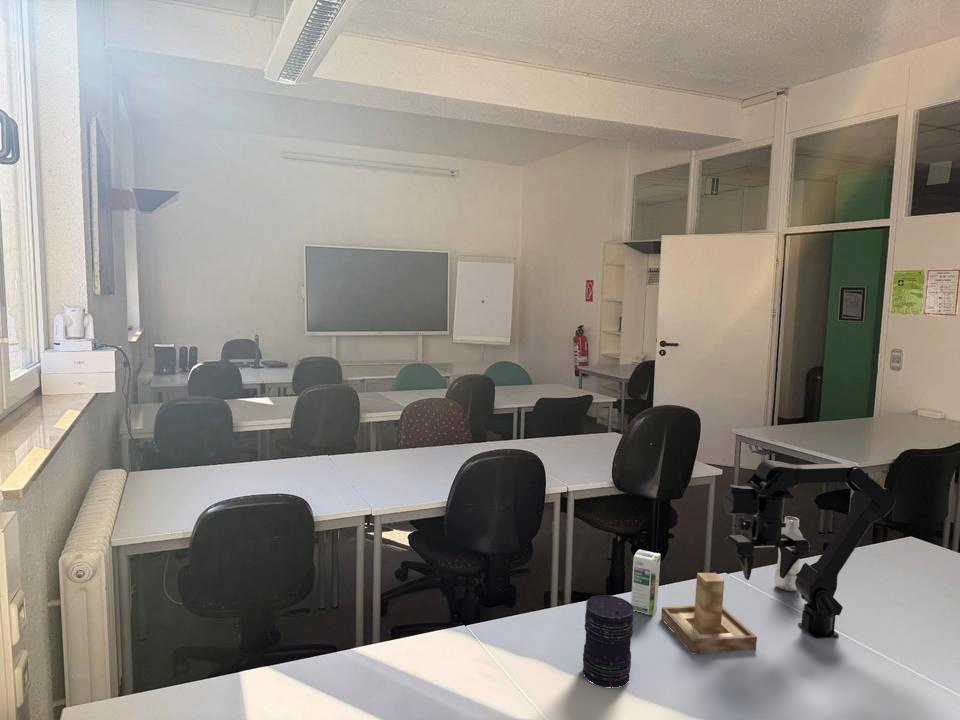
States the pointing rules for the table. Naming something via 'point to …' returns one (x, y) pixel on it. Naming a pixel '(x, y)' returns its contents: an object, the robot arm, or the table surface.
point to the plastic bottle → (790, 578)
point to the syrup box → (645, 581)
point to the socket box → (728, 640)
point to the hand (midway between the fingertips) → (764, 578)
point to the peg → (708, 603)
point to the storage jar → (608, 640)
